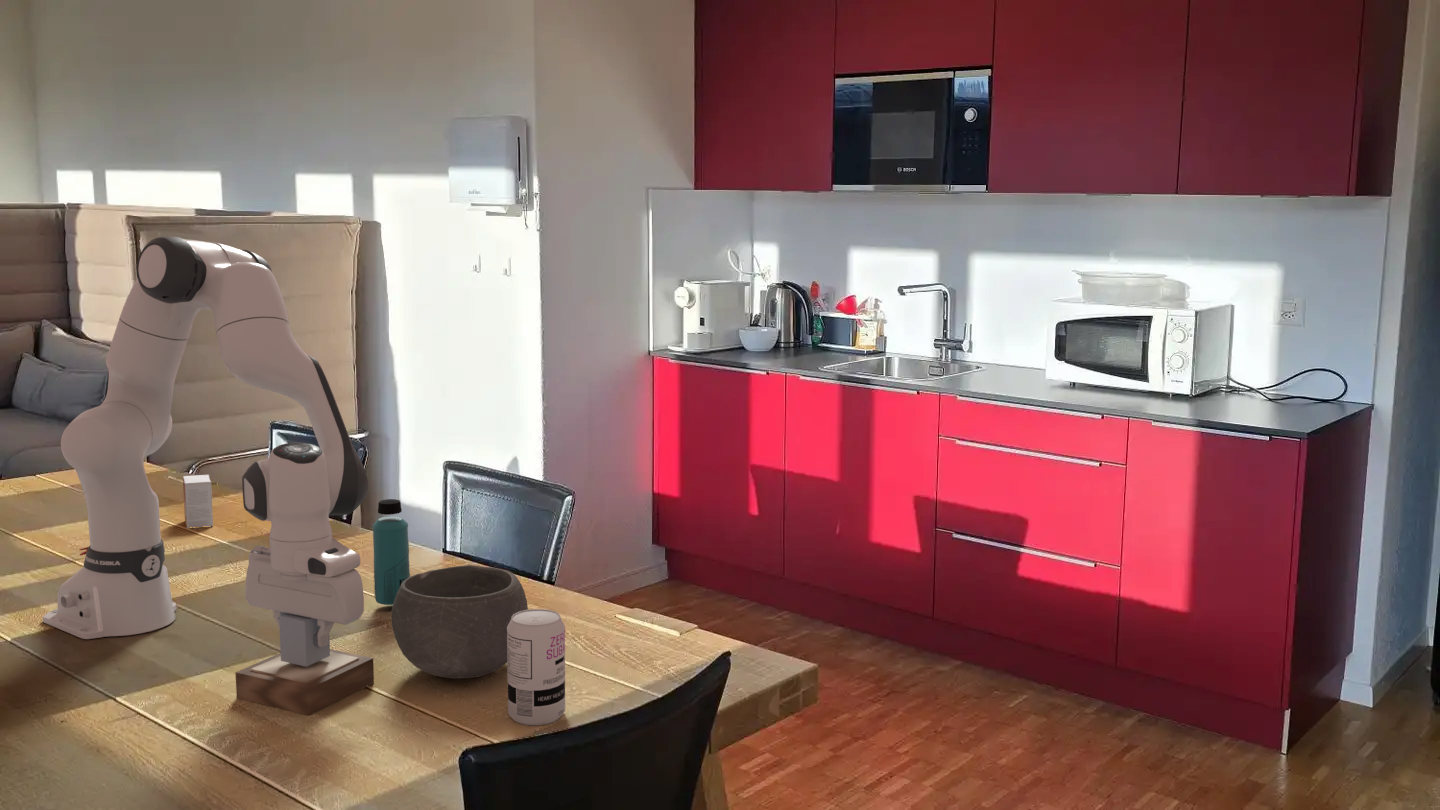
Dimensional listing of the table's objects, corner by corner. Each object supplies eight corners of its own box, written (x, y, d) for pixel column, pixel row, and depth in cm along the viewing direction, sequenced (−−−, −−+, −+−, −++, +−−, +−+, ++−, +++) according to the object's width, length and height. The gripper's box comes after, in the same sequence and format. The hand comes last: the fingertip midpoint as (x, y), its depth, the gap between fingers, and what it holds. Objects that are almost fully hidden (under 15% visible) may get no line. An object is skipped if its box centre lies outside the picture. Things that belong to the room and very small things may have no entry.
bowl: (463, 708, 187) (462, 610, 184) (363, 678, 198) (361, 585, 195) (555, 665, 204) (555, 575, 202) (459, 639, 215) (457, 554, 213)
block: (280, 660, 191) (279, 616, 189) (304, 650, 195) (303, 606, 194) (306, 666, 188) (304, 621, 187) (330, 655, 193) (328, 611, 192)
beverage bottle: (401, 614, 228) (399, 505, 224) (367, 611, 229) (364, 503, 226) (417, 603, 234) (415, 497, 231) (383, 600, 235) (381, 495, 232)
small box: (184, 521, 289) (182, 475, 287) (211, 518, 291) (209, 473, 289) (186, 529, 281) (183, 483, 280) (213, 527, 284) (211, 481, 282)
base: (236, 697, 189) (235, 670, 188) (304, 667, 202) (303, 641, 201) (309, 715, 183) (308, 687, 183) (373, 682, 196) (373, 656, 195)
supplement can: (510, 705, 188) (509, 607, 186) (566, 704, 189) (565, 607, 187) (505, 727, 180) (504, 626, 178) (564, 726, 181) (563, 625, 179)
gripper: (233, 548, 190) (237, 637, 193) (339, 568, 182) (342, 660, 184) (264, 539, 196) (268, 624, 198) (369, 557, 188) (371, 646, 190)
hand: (304, 642), depth 191 cm, fingers closed on block, 5 cm apart
